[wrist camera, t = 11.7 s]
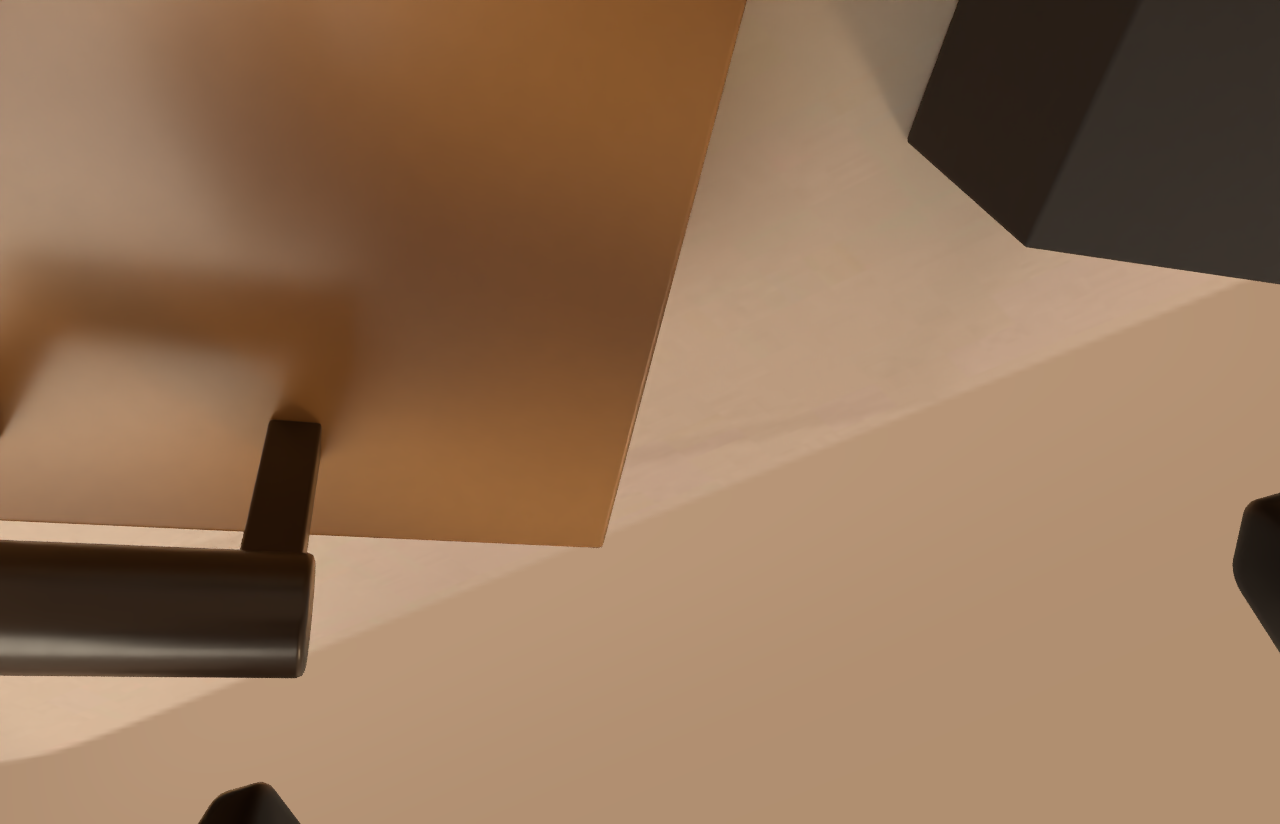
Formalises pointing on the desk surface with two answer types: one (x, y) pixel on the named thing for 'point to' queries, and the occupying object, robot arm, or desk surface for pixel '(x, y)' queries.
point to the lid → (322, 294)
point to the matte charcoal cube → (1116, 127)
